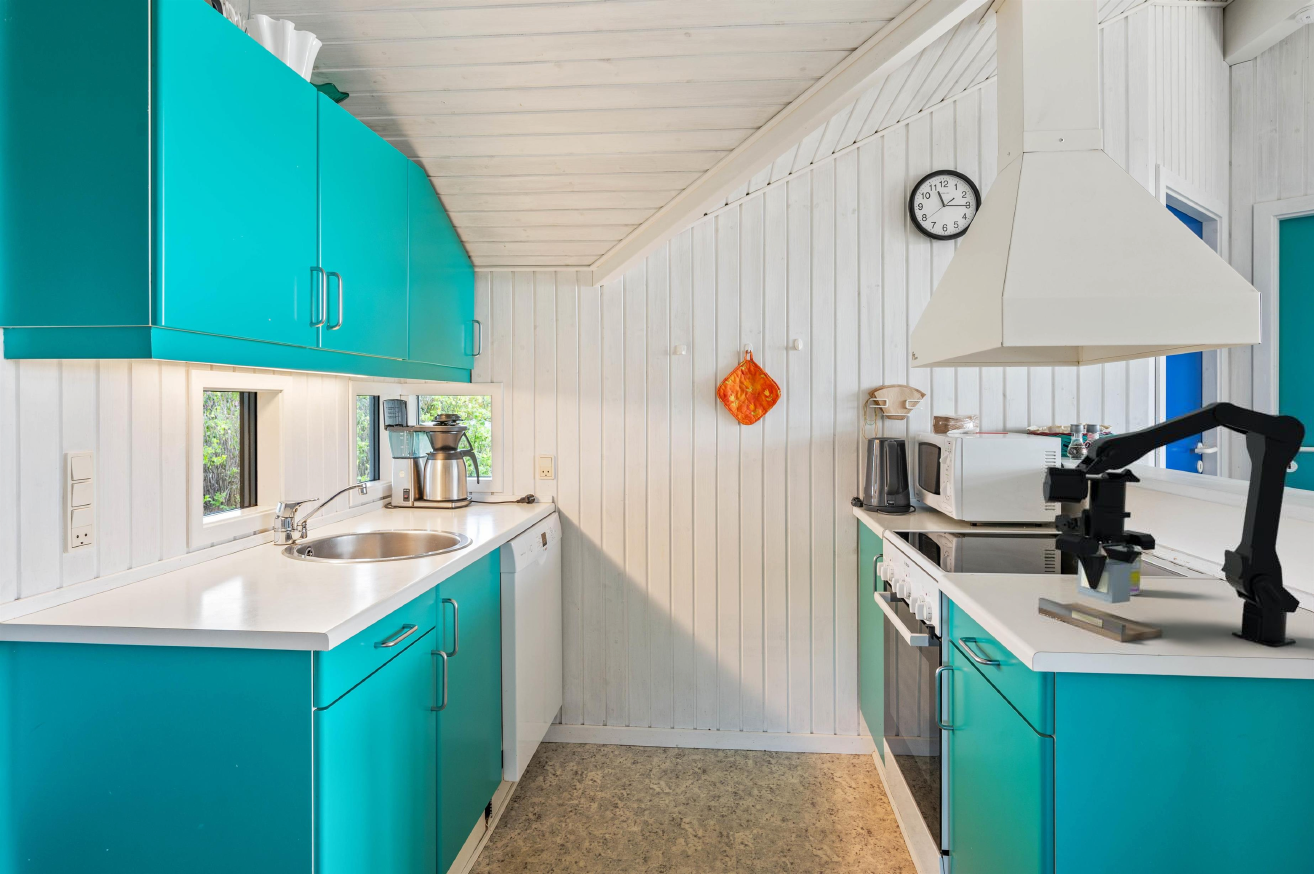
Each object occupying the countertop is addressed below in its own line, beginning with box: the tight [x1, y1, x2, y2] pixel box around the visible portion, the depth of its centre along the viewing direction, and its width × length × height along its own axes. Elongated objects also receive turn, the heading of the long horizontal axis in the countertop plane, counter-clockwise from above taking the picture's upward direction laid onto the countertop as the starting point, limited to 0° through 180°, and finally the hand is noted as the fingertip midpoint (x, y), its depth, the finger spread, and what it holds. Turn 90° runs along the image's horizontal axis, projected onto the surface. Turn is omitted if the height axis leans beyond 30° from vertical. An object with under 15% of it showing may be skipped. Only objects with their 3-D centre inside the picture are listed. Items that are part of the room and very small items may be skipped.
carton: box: [1076, 558, 1132, 604], centre depth 129 cm, size 5×7×7 cm
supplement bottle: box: [1104, 545, 1143, 596], centre depth 152 cm, size 7×7×13 cm
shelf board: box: [1037, 597, 1163, 643], centre depth 129 cm, size 10×17×3 cm, turn 19°
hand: (1103, 587), depth 129 cm, fingers closed on carton, 5 cm apart
